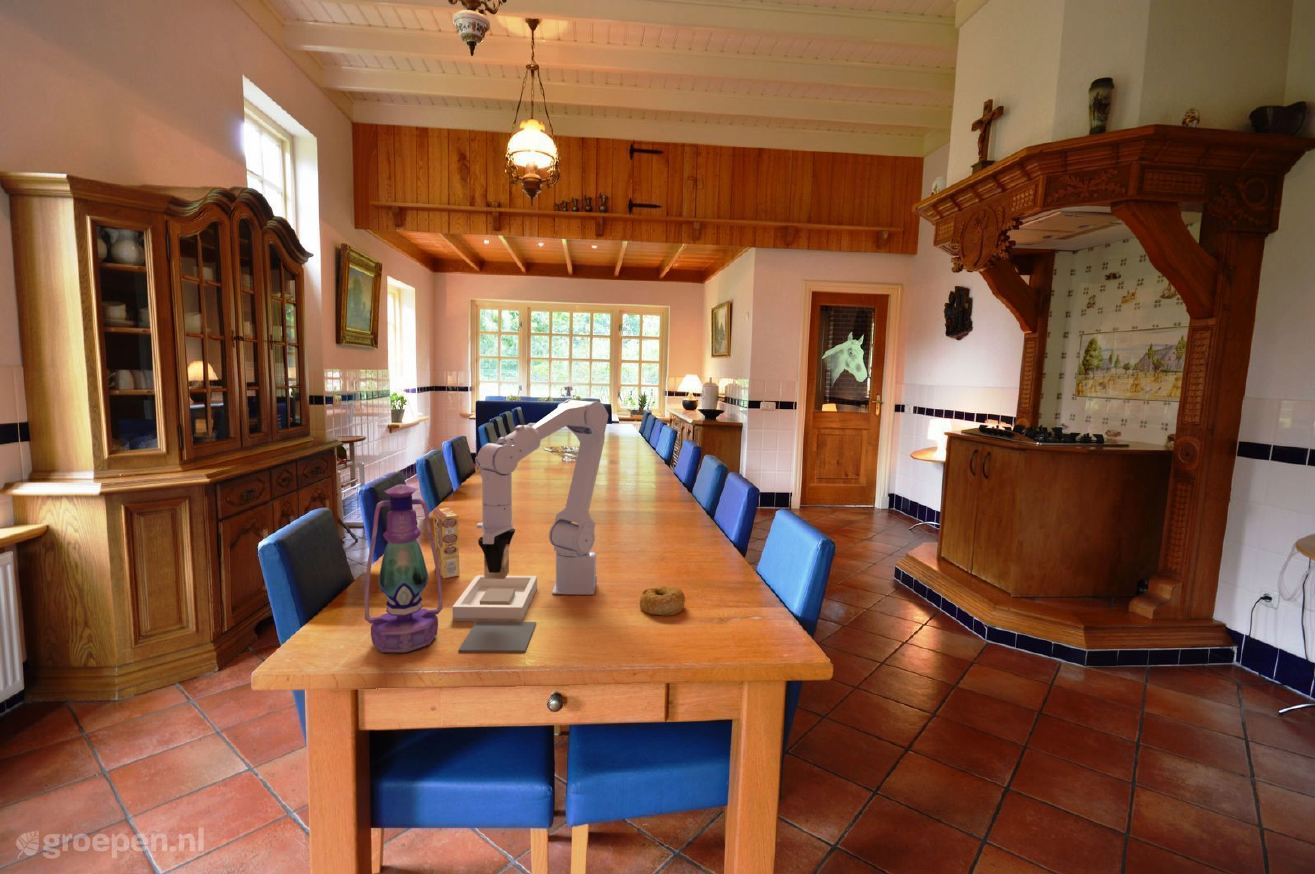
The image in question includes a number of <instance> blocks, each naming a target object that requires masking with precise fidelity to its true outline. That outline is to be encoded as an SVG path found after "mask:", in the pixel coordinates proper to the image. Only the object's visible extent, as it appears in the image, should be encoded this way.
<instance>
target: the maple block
mask: <svg viewBox="0 0 1315 874" xmlns="http://www.w3.org/2000/svg"><path fill="white" fill-rule="evenodd" d="M509 549H510V546H509V544H506V546H505V549H504V553H503V559H502V566H501V570H500V572H499V573H490V572H489V570H488V566H487V562H486V558H485V555H484V554H483V565H484V566H483V567H484V569H483V571H484V572H483V573H484V579H505V577H506V576H508V575H509V573H510V552H509V551H510V550H509Z"/></svg>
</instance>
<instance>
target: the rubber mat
mask: <svg viewBox="0 0 1315 874" xmlns="http://www.w3.org/2000/svg"><path fill="white" fill-rule="evenodd" d="M536 625H537V622H536V621H522V622H513V621H475V623H474V624H473V626H472V627H471V629H470V630H469V633H468V634H467V636H466V637H465V639H464V641H463V642H462V643H461V645H460V646H459V648H458V650H457V651H458V653H521V654H522V653H526V651H527V649H528V646H529V644H530V641H531V639H532V636H533V633H534V631H535V628H536Z"/></svg>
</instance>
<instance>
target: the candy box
mask: <svg viewBox="0 0 1315 874" xmlns="http://www.w3.org/2000/svg"><path fill="white" fill-rule="evenodd" d="M432 514H433V515H432V516H433V518H432V519H433V541H434V545H435V549H436V553H437V558H438V563H439V568H440V575H441V578H443V579H448V578H453V577H454V578H455V577H460V574H461V571H460V546H459V544H460V542H459V516H458V514H457V513H455V512H454V511H453V510H452V509H451V508H449V507H444V508H436V509H433V510H432Z"/></svg>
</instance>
